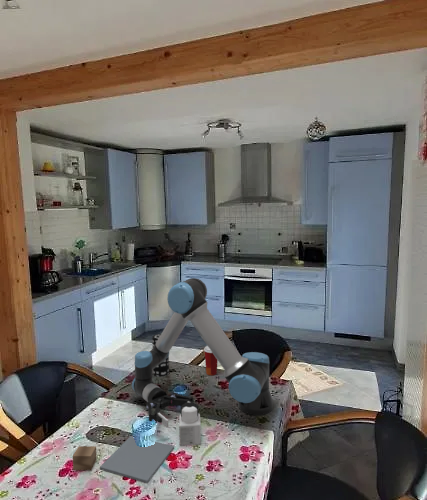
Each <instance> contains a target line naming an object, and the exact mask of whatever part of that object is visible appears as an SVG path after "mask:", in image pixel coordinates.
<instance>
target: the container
mask: <svg viewBox="0 0 427 500" xmlns="http://www.w3.org/2000/svg"><path fill="white" fill-rule="evenodd" d="M178 426H179V427H178V428H179V429H178V430H179V433H178V436H179V437H178V438H179V446H192V445H193V446H194V445H195V446H196V445H201V443H202V434H201V433H202V431H201V430H202V428H201V427H202V425H201V415H200V413H199V405H198V404H197V403H196V402H193V403H191V402H189V403H185V404H183V405H182V406H180V414H179V420H178Z"/></svg>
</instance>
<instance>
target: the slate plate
mask: <svg viewBox="0 0 427 500" xmlns="http://www.w3.org/2000/svg"><path fill="white" fill-rule="evenodd" d="M133 436H134V435H130V436H129V437H128V438H127V439H126V440H125V441H124V442H123V443H122V444H121V445H120V446H119V447H118V448H117V449H116V450H115V451H114V452H113V453H112V454H111V455H110V456H109V457H108V458H107V459H106V460H105V461H104V462H103V463H102V464H101V465H100V466H99V470H101V471H105V472H108V473H112V474H115V475H119V476H122V477H125V478H129V479H132V480H136V481H138V482H142V483H146V484H149V482H150V481H151V479H152V478H153V477H154V475H155V474H156V473H157V471H158V470H159V469H160V468H161V467H162V465H163V463H164V462H166V460H167V458H168V457H169V456H170V455H171V453H172V452H173V451H174V450H175V446H174V445H171V444H168V443H163V442H159V441H155V444H154V445H151V446H148V447H139V446H137V445H136V443H135V440H134V438H133Z"/></svg>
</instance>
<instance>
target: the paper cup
mask: <svg viewBox="0 0 427 500" xmlns="http://www.w3.org/2000/svg"><path fill="white" fill-rule="evenodd" d="M203 351H204V361H205V373H206V375H207V376H216V375H217V372H218V362H219V361H218V360H217V359H216V357H215V356H214V354H213V353H212V351H211V350H210V349H209V347H208V346H207V345H206V346H205V347H204V348H203Z"/></svg>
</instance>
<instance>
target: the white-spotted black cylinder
mask: <svg viewBox="0 0 427 500" xmlns="http://www.w3.org/2000/svg"><path fill="white" fill-rule="evenodd" d="M161 334H162V333H158V334H154V335H152V338H151V339H152V342H151V343H152V348H153V347H154V345H155V344H156V342H157V340H158V339H159V337H160V335H161ZM169 356H170V355H169ZM169 356H168V357H167V358H166V360H165V361H163V362H162V363H160V364H159V365H158V366H157V367H155V368H154V369H153V370H152V376H155V377H161V378H162V377H166V376H168V375H169V374H170V357H169Z"/></svg>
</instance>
